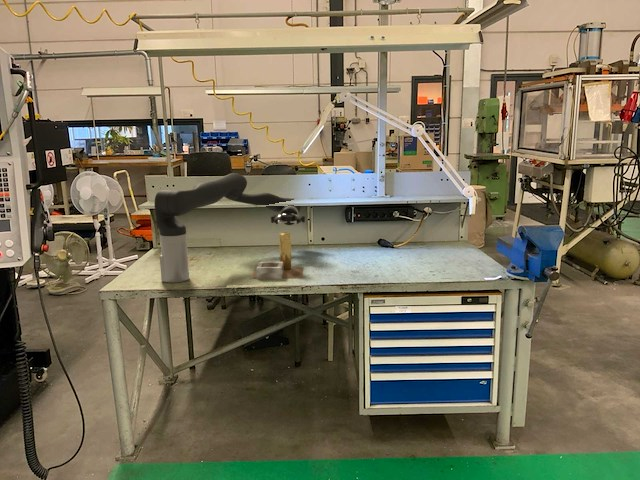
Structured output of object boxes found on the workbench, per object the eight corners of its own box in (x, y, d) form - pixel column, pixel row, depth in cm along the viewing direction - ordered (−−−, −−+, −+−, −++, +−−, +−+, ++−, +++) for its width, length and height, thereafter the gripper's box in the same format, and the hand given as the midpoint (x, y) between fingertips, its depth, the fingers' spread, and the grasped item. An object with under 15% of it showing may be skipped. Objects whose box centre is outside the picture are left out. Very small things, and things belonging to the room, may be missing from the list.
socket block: (250, 281, 174) (249, 268, 173) (256, 269, 189) (255, 257, 188) (302, 281, 173) (302, 267, 172) (304, 269, 189) (303, 257, 188)
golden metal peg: (279, 270, 184) (278, 234, 182) (280, 267, 189) (279, 232, 186) (291, 270, 184) (290, 234, 181) (291, 267, 189) (290, 232, 186)
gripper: (273, 207, 210) (269, 212, 194) (305, 206, 210) (304, 212, 194) (273, 223, 212) (270, 230, 196) (306, 223, 212) (304, 230, 196)
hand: (287, 221), depth 195 cm, fingers open, 8 cm apart
